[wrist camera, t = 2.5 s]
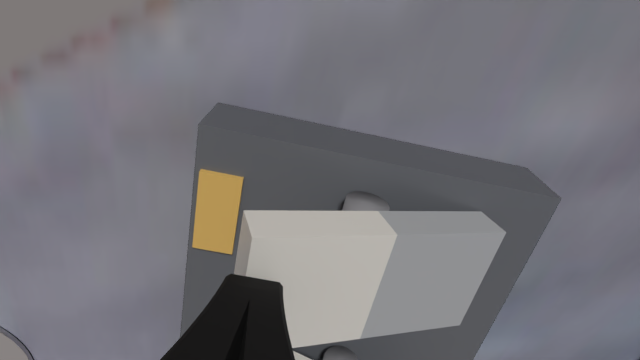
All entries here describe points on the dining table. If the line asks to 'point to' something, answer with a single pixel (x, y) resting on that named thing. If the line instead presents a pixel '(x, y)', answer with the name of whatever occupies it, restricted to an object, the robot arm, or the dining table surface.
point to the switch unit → (329, 195)
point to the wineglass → (12, 347)
